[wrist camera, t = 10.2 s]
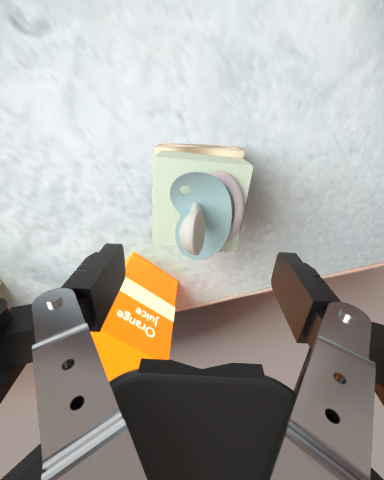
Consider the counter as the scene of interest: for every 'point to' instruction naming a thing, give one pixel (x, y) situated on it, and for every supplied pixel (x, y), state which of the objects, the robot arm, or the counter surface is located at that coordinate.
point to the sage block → (172, 167)
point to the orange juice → (138, 319)
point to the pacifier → (206, 212)
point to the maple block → (201, 149)
